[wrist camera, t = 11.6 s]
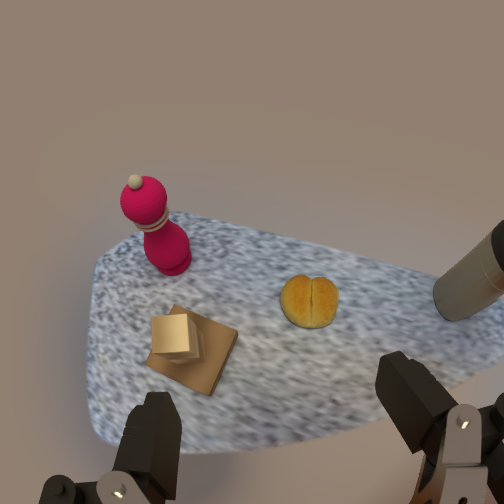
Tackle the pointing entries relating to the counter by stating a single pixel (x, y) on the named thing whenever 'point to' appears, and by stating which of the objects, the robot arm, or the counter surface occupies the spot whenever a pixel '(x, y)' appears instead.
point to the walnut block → (216, 353)
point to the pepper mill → (156, 224)
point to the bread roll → (309, 301)
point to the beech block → (177, 339)
